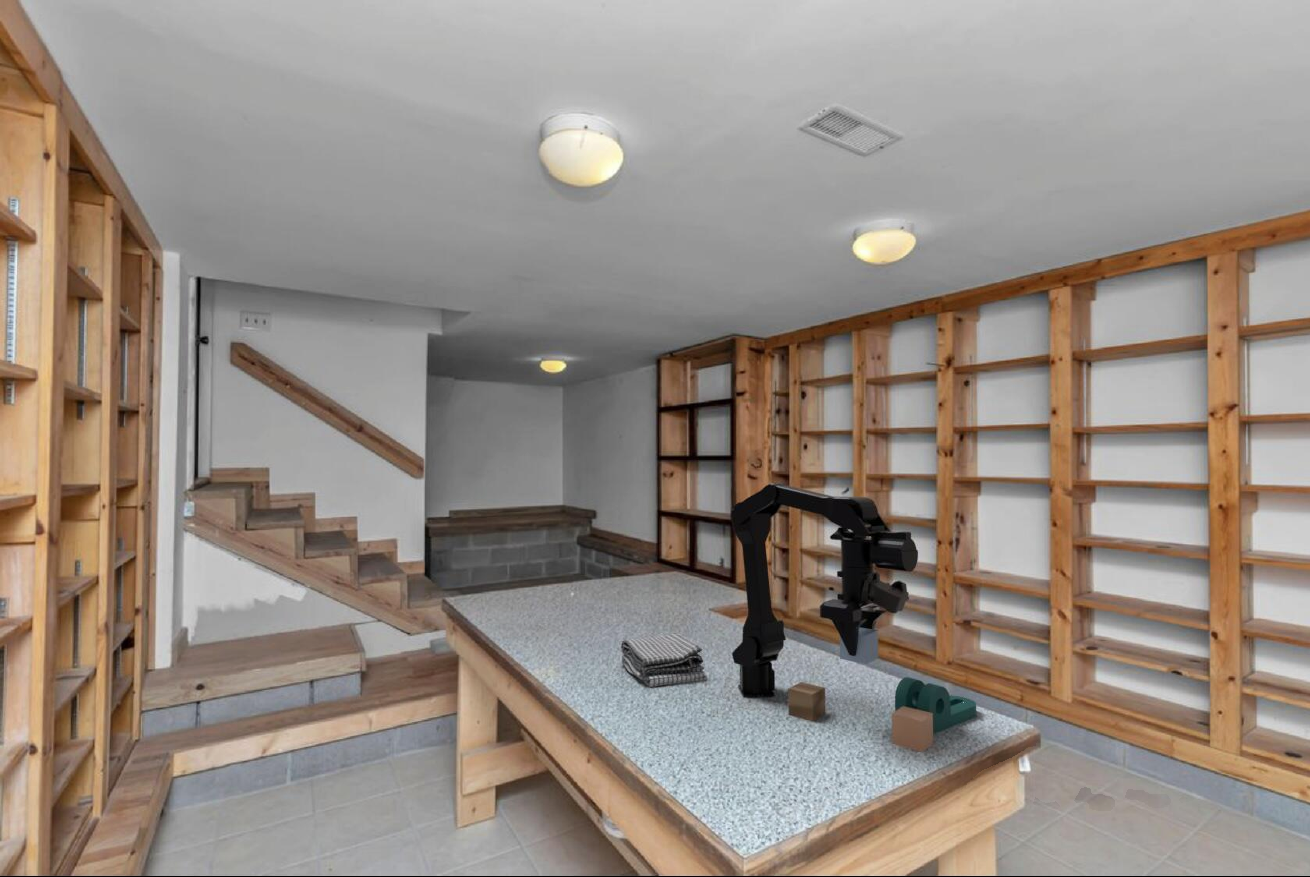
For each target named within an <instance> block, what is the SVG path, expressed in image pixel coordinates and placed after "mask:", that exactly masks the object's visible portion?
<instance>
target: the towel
mask: <svg viewBox="0 0 1310 877" xmlns="http://www.w3.org/2000/svg"><path fill="white" fill-rule="evenodd" d="M620 648H621V652H622V653H621V654H623V655H622V656H621V664H622V665H623V667H624V668H625V669H626V670H627V671H628V672H629V674H630V675H633V676H635V677H636V678H638V679H640V681H642V682H643V683H644V684H645V685H646V686H647V687H648V688H652V687H654V688H655V687H659V686H660V687H661V686H667V685H676V684H677V685H678V684H684V683H693V682H702V681H707V679H708V676H707V674H706V672H705V671H704V670H705V666H704V665H702V664H703V663H704V659H703V657H702V656H701V654H699V653H701V652H702V651H703V648H702V647H701V646H700V645H699V644H698V643H696V642H693V641H691V640H690V639H689V638H688V637H685V636H683V635H682V634H680V633H672V634H671V633H670V634H666V635H659V636H655V635H654V636H648V637H639V638H626V639H624V640H622V641H621V645H620Z"/></svg>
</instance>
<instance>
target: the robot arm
mask: <svg viewBox="0 0 1310 877" xmlns="http://www.w3.org/2000/svg"><path fill="white" fill-rule="evenodd" d="M783 506H786V507H790V508H793V509H797V510H801V511H804V512H808V513H812V514H817V515H819V516H822V517H823V518H826V520H828V521H829V522H830V523H833V524H834V525H836V526H838V527H837V530H836V531H834V532H833V533H832V534H831V535H830V536H829V538H830V540H831V541H833V540H834V541H840V563H841V565H840V566H841V570H838V571H836V577H837V578H840V579H841V592H839V593H837V599H835V598H832V599H829V600H825V601H823V602H822V604H820V606H819V617H820V618H822V619H825V620H826V619H827V620H830V621H831V622H832V623H833V625H834V627H835V628H836V629H835V630H837V631H836V632H838V634H839V637H840V636H841V639H842V641H843V643H844V645H845V647H846V649H847V651H848V653H849V655H851V656H855V655H856V651H857V643H858V634H859V627H860V628H866V629H873V630H875V627H876V624H877V621H878V620H879V619H880V618H881V617H883V616H884V615H885V614H886V613H887V612H888V613H891V614H898V612H903V610H904V607H905V604H906V602H908V601H909V600H910V596H909V594H910V593H909V592H908V589H907V587H908V586H907V584H906V583H905V582H903V581H902V580H897V581H896V580H895V581H894V582H893V583H892V584H890V582H884V581H881V579H880V578H881V577H880V573H879V571H875V567H876V568H878V569H880V570H881V569H882V570H892V571H898V572H909V573H910V572H913V571H914V570H915V569H916V567H917V564H918V560H919V550H918V549H917V545H916V543H915V542H914V540H913V539H912V532H911V531H891V530H890V528H889V526H888V525H887V524H886V522H885V520H884V519H883V518H882V516H881V515H880V513H879V510H878V507H877V505H876V504H875V501H874V500H873V499H872V498H869V497H864V496H835V495H834V496H832V495H829V494H824V493H820V492H816V491H812V490H807V489H803V488H799V487H794V486H791V485H787V484H786V483H773V482H772V483H771V482H770V483H769V484H767V485H765V486H764V487H763V488H761V489H760V491H756V492H755V493H754V494H752V495H750V496H748V497H747V498H745V499H744V500H743V501H740V502H737V503H736V504H735V505H734V506H733V508H732V509H731V511H730V520H731V523H732V527H733V528H732V529H733V532H734V534H735V536H736V537H737V539H738V540H739V542H740V543H741V547H742V548H741V549H742V557H743V571H744V579H745V590H746V602H747V604H746V605H747V616H746V619H745V621H744V624H743V627H742V639H741V640H742V641H741V642H740V644H739V645H738V646H737V647H736V648H734V650H733V651H732V652H731V655H732V659H733V663H734V664H736V665H739V684H738V685H737V688H738V690H739V691H740V693H741V695H742V696H743V697H745V698H746V697H749V698H752V697H755V698H756V697H775V692H774V691H775V690H776V682H775V681H776V679H775V678H776V677H775V675H776V674H775V673H776V671H775V669H774V668H773V663H772V662H775V661H778V657H779V655H780V652H781V651H782V650H783V648H784V643H785V641H786V640H787V638H786V635H785V630H784V629H785V623H784V621H783V620H782V619H780V620H778V619H777V618H776V616H775V614H774V613H773V608H772V607H773V606H772V598H771V589H770V588H771V587H770V577H769V569H768V568H769V566H768V557H767V546H766V544H767V540H768V537H769V534H770V532H771V528H772V518H773V517H774V516H775V515H777V514H778V513H779V512H780V510H781V508H782V507H783ZM880 608H883V609H884V610H883V609H880Z"/></svg>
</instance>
